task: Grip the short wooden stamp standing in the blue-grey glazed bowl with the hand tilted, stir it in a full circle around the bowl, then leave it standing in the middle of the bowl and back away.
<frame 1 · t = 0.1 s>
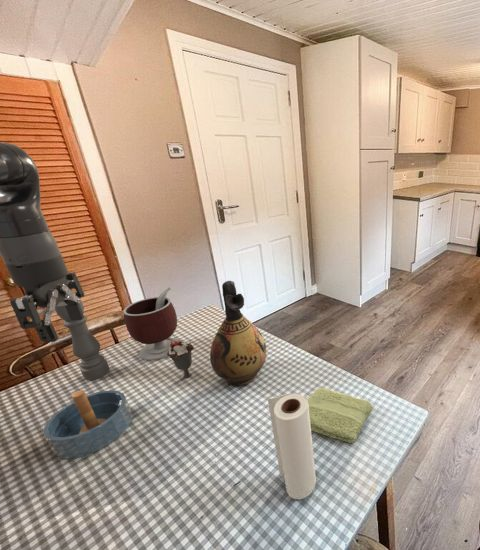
hand: (65, 329, 63), 29 cm above the table, tool pointing down, fingers open, 8 cm apart
paper towel roll: (300, 483, 62), on the table
mate gourd: (163, 348, 106), on the table
bowl: (96, 433, 74), on the table
wooden stamp: (95, 430, 73), point 1 cm above the table, touching bowl
sundae: (188, 378, 92), on the table
washcloth: (333, 417, 78), on the table
candle holder: (97, 374, 94), on the table
ceramic jug: (243, 374, 93), on the table
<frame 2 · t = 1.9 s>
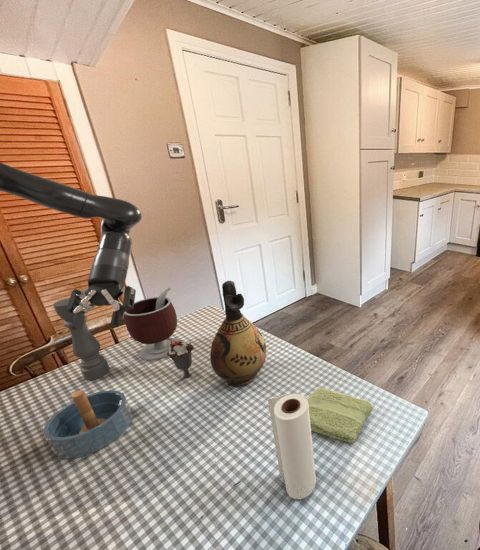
hand: (95, 328, 76), 23 cm above the table, tool tilted 45°, fingers open, 8 cm apart
nothing on the table moved.
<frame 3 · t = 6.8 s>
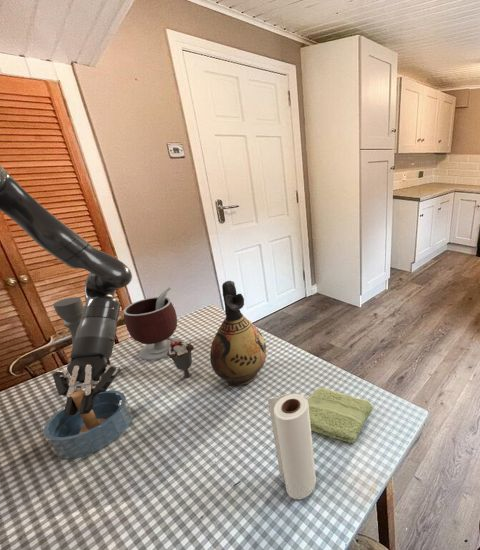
hand: (77, 414, 69), 8 cm above the table, tool tilted 45°, fingers closed on wooden stamp, 2 cm apart
wooden stamp: (95, 430, 73), point 1 cm above the table, touching bowl, gripper
everything else where it was.
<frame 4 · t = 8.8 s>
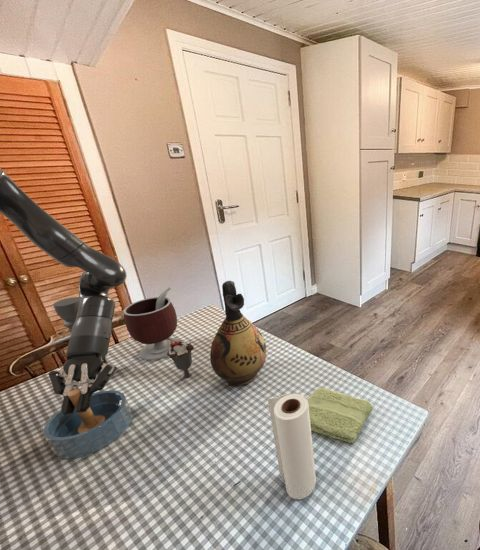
hand: (74, 412, 69), 8 cm above the table, tool tilted 45°, fingers closed on wooden stamp, 2 cm apart
wooden stamp: (93, 427, 74), point 1 cm above the table, touching bowl, gripper
everything else where it was.
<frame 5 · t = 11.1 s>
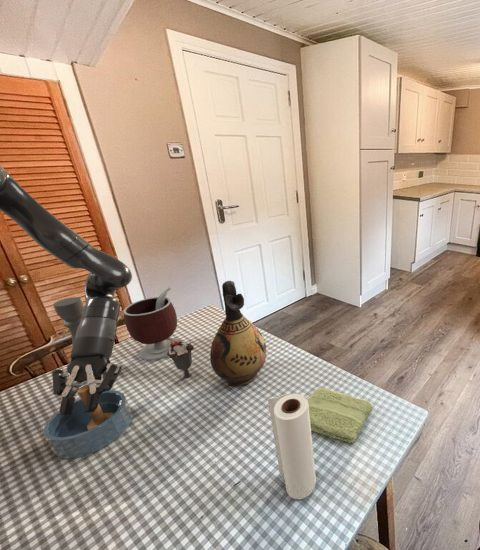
hand: (77, 413, 69), 8 cm above the table, tool tilted 45°, fingers open, 4 cm apart
wooden stamp: (102, 424, 75), point 1 cm above the table, touching bowl
everything else where it was.
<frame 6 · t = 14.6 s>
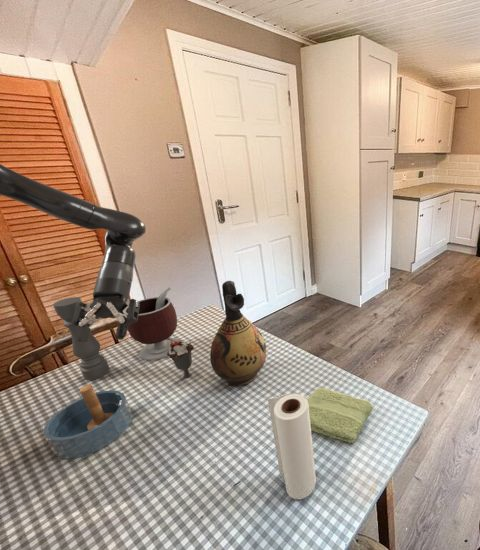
hand: (101, 340, 77), 19 cm above the table, tool tilted 45°, fingers open, 8 cm apart
nothing on the table moved.
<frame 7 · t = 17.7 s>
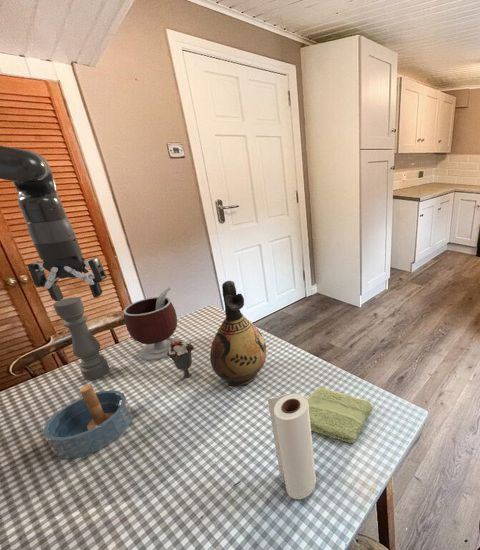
hand: (79, 298, 79), 28 cm above the table, tool pointing down, fingers open, 8 cm apart
nothing on the table moved.
at the end: wooden stamp 1.8 cm off-centre in the bowl, point 0.8 cm above the bowl's base; wooden stamp tilted 0°; the gripper is holding nothing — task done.
